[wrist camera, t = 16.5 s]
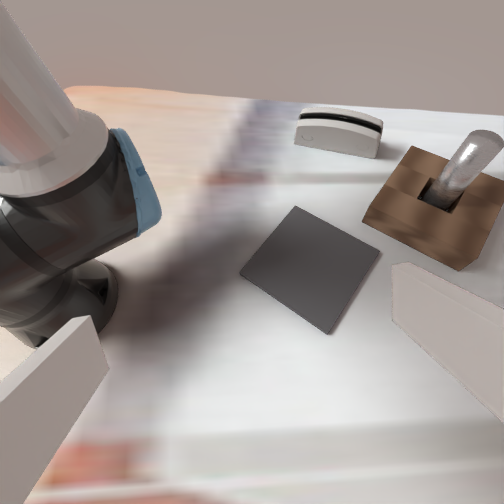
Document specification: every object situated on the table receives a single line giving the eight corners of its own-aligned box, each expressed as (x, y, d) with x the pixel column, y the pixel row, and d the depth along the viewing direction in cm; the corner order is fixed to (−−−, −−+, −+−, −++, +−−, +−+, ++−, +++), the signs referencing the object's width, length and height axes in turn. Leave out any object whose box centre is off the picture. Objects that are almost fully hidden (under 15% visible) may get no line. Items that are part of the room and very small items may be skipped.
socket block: (361, 221, 47) (369, 205, 43) (401, 164, 52) (411, 145, 48) (458, 271, 42) (477, 258, 38) (492, 201, 47) (511, 184, 43)
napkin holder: (379, 141, 56) (395, 109, 46) (373, 163, 55) (387, 135, 46) (299, 128, 59) (298, 95, 50) (293, 148, 59) (290, 119, 49)
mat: (240, 274, 44) (239, 272, 44) (295, 208, 50) (295, 205, 49) (327, 334, 39) (328, 333, 38) (378, 253, 44) (380, 251, 43)
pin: (410, 214, 47) (463, 144, 34) (419, 199, 48) (474, 125, 35) (433, 226, 46) (498, 156, 32) (443, 209, 47) (508, 137, 34)
